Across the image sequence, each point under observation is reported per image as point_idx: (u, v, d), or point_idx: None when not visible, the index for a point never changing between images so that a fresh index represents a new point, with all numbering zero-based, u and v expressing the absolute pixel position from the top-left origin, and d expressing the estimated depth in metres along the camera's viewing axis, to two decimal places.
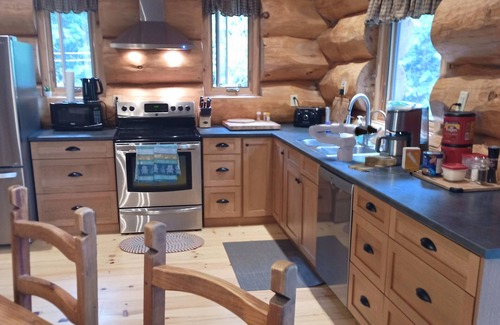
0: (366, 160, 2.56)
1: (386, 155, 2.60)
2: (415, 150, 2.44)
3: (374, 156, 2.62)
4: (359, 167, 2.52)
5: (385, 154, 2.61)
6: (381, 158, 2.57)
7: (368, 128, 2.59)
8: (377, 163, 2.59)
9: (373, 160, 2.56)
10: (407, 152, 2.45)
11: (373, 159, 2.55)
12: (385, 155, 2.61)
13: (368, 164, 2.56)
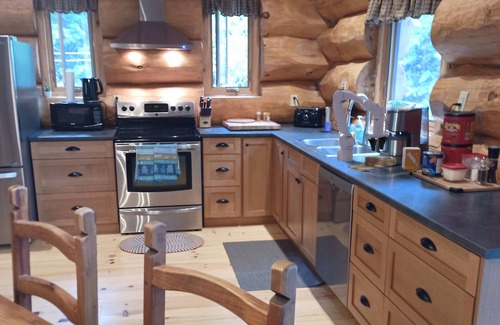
0: (366, 160, 2.56)
1: (386, 155, 2.60)
2: (415, 150, 2.44)
3: (374, 156, 2.62)
4: (359, 167, 2.52)
5: (385, 154, 2.61)
6: (381, 158, 2.57)
7: (382, 139, 2.58)
8: (377, 163, 2.59)
9: (373, 160, 2.56)
10: (407, 152, 2.45)
11: (373, 159, 2.55)
12: (385, 155, 2.61)
13: (368, 164, 2.55)
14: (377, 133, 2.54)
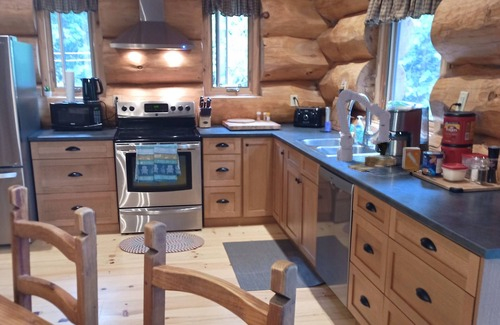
0: (366, 160, 2.56)
1: (386, 155, 2.60)
2: (415, 150, 2.44)
3: (374, 156, 2.62)
4: (359, 167, 2.52)
5: (385, 154, 2.61)
6: (381, 158, 2.57)
7: None
8: (377, 163, 2.59)
9: (373, 160, 2.56)
10: (407, 152, 2.45)
11: (373, 159, 2.55)
12: (385, 155, 2.61)
13: (368, 164, 2.56)
14: (383, 138, 2.57)
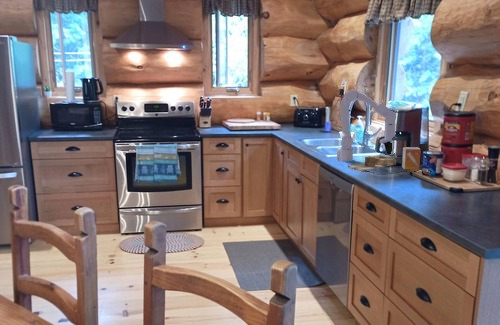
0: (366, 160, 2.56)
1: (393, 154, 2.63)
2: (415, 150, 2.44)
3: (381, 155, 2.65)
4: (359, 167, 2.52)
5: None
6: (388, 157, 2.60)
7: None
8: (377, 163, 2.59)
9: (373, 160, 2.56)
10: (407, 152, 2.45)
11: (373, 159, 2.55)
12: None
13: (368, 164, 2.56)
14: (389, 138, 2.60)
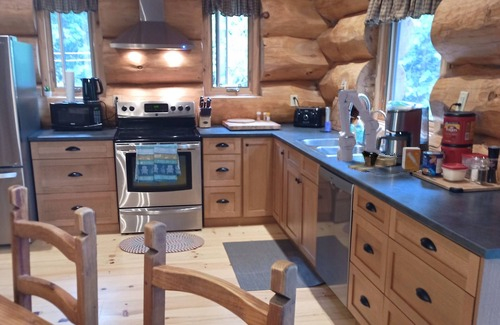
0: (366, 160, 2.56)
1: (393, 154, 2.63)
2: (415, 150, 2.44)
3: (381, 155, 2.65)
4: (359, 167, 2.52)
5: None
6: (388, 157, 2.60)
7: None
8: (377, 163, 2.59)
9: None
10: (407, 152, 2.45)
11: None
12: None
13: (368, 164, 2.55)
14: None
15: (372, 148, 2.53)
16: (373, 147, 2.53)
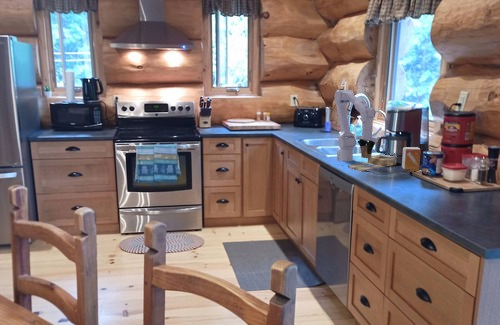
0: (363, 149, 2.53)
1: (393, 154, 2.63)
2: (415, 150, 2.44)
3: (381, 155, 2.65)
4: (359, 167, 2.52)
5: None
6: (388, 157, 2.60)
7: None
8: (377, 163, 2.59)
9: None
10: (407, 152, 2.45)
11: None
12: None
13: (365, 153, 2.53)
14: None
15: (368, 136, 2.50)
16: (369, 135, 2.50)
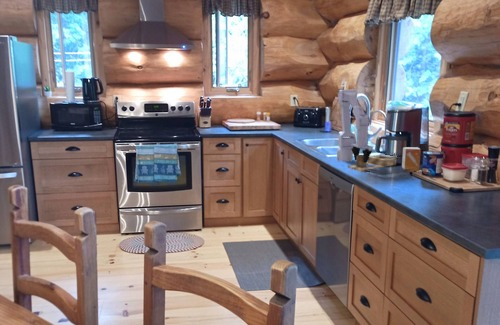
0: (357, 158, 2.53)
1: (393, 154, 2.63)
2: (415, 150, 2.44)
3: (381, 155, 2.65)
4: (359, 167, 2.52)
5: None
6: (388, 157, 2.60)
7: None
8: (377, 163, 2.59)
9: None
10: (407, 152, 2.45)
11: None
12: None
13: (359, 163, 2.52)
14: None
15: (363, 144, 2.48)
16: (364, 143, 2.49)
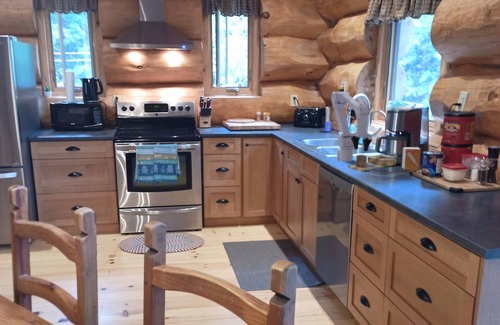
0: (357, 158, 2.53)
1: (393, 154, 2.63)
2: (415, 150, 2.44)
3: (381, 155, 2.65)
4: (359, 167, 2.52)
5: None
6: (388, 157, 2.60)
7: None
8: (377, 163, 2.59)
9: (365, 158, 2.52)
10: (407, 152, 2.45)
11: (365, 157, 2.52)
12: None
13: (359, 163, 2.52)
14: None
15: (363, 133, 2.52)
16: (364, 132, 2.52)
